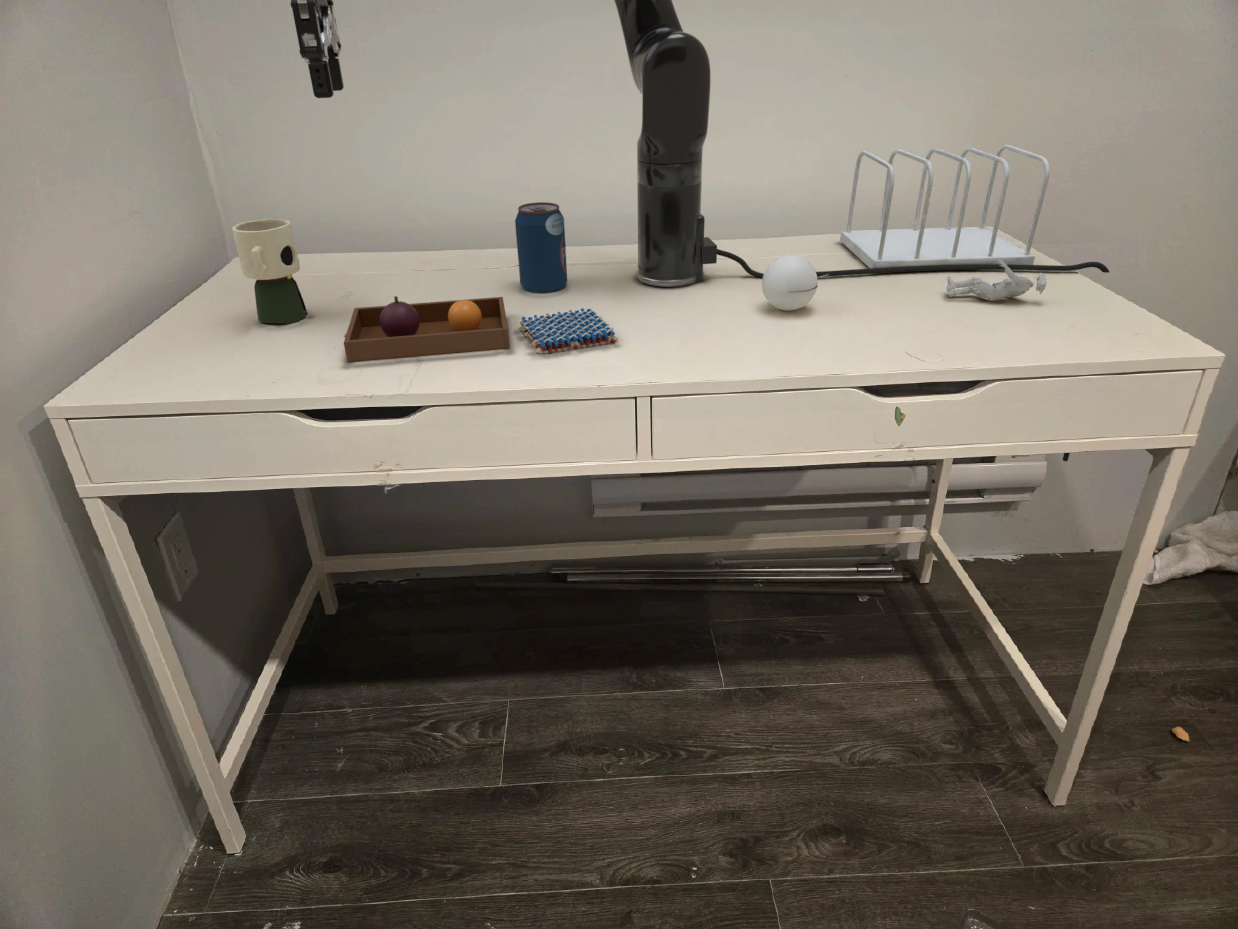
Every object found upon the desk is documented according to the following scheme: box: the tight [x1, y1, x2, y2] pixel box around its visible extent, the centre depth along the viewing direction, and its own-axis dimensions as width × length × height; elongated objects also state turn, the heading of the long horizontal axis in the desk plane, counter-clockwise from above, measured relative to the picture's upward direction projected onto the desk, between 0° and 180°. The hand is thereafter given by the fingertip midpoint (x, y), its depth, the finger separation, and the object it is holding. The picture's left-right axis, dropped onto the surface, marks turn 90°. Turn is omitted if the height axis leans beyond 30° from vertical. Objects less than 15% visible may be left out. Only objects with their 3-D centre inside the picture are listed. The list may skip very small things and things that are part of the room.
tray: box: [343, 296, 511, 363], centre depth 102 cm, size 19×12×3 cm, turn 100°
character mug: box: [231, 218, 309, 325], centre depth 107 cm, size 11×7×13 cm, turn 7°
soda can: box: [514, 201, 568, 294], centre depth 117 cm, size 7×7×12 cm
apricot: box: [448, 299, 482, 332], centre depth 103 cm, size 4×4×4 cm
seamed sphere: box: [761, 254, 829, 312], centre depth 109 cm, size 10×7×7 cm
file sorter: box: [839, 144, 1051, 269], centre depth 127 cm, size 25×17×16 cm
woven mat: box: [518, 307, 619, 355], centre depth 102 cm, size 10×11×2 cm
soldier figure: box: [946, 260, 1048, 302], centre depth 111 cm, size 8×5×12 cm
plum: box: [380, 295, 420, 337], centre depth 101 cm, size 5×5×6 cm
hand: (330, 93), depth 101 cm, fingers open, 8 cm apart
